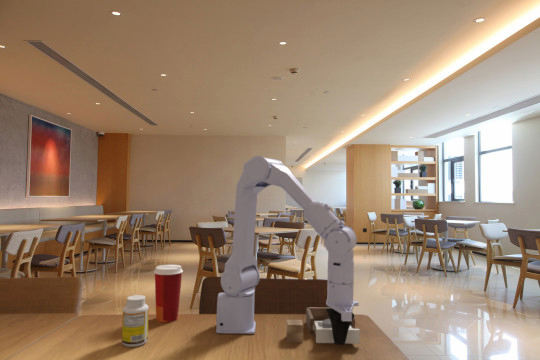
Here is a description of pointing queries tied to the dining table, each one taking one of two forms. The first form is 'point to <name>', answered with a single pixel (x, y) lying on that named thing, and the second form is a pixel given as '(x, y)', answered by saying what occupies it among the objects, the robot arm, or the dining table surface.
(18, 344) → the dining table surface
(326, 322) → the grey dome
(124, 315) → the supplement bottle
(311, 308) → the open square box
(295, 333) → the wooden block
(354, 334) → the white drawer
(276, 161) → the robot arm
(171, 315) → the paper cup
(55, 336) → the dining table surface
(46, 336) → the dining table surface
